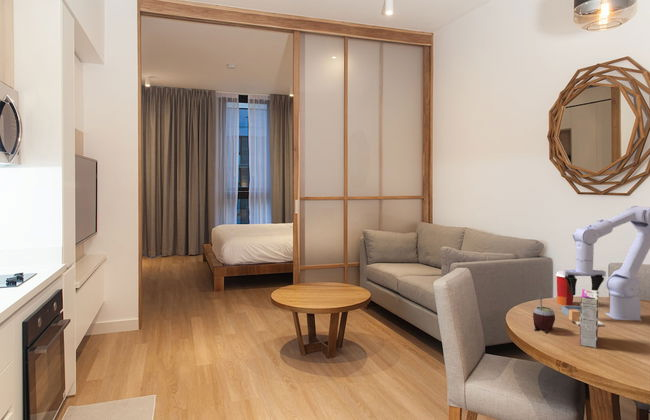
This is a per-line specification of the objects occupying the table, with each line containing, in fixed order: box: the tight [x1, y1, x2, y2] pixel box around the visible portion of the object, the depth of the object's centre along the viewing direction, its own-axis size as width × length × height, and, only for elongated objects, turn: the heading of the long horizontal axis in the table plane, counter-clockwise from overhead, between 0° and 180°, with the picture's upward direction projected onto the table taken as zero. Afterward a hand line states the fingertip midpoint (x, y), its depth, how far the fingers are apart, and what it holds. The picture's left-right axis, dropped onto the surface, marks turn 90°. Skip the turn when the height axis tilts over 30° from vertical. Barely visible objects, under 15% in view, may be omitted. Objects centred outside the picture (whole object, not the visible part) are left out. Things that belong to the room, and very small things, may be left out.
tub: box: [561, 305, 581, 318], centre depth 173 cm, size 8×6×3 cm
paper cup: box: [555, 270, 577, 306], centre depth 187 cm, size 8×8×14 cm
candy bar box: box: [579, 288, 600, 349], centre depth 145 cm, size 11×5×16 cm, turn 148°
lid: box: [568, 309, 604, 327], centre depth 163 cm, size 10×7×5 cm
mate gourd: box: [532, 292, 556, 335], centre depth 156 cm, size 8×8×15 cm
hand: (583, 294), depth 167 cm, fingers open, 7 cm apart
